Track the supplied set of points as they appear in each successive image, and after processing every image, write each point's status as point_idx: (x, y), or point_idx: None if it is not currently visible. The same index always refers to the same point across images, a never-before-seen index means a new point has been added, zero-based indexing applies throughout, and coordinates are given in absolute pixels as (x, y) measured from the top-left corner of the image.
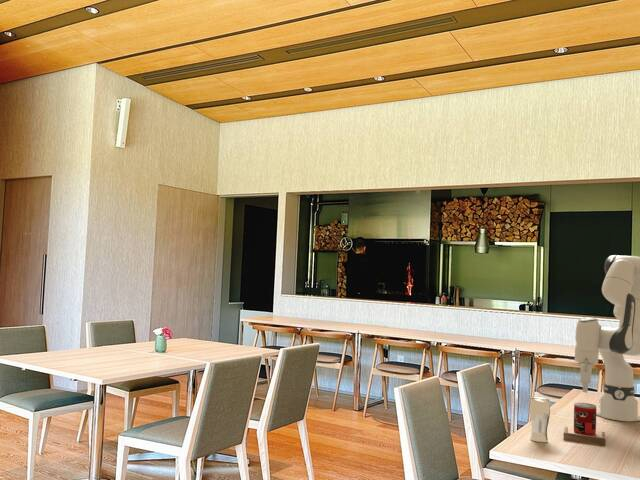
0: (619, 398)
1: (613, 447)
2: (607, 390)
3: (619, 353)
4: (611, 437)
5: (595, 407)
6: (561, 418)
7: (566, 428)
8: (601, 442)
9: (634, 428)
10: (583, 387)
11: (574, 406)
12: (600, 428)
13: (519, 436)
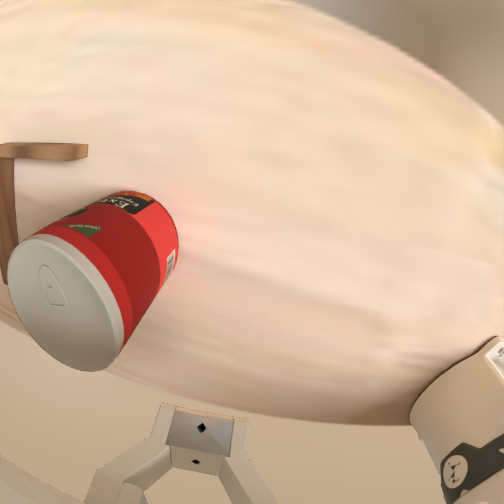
0: (449, 459)
1: None
2: (499, 447)
3: None
4: None
5: (54, 353)
6: (432, 176)
7: (42, 155)
8: None
9: (323, 422)
10: (140, 445)
11: (41, 231)
12: (274, 327)
13: (7, 11)
